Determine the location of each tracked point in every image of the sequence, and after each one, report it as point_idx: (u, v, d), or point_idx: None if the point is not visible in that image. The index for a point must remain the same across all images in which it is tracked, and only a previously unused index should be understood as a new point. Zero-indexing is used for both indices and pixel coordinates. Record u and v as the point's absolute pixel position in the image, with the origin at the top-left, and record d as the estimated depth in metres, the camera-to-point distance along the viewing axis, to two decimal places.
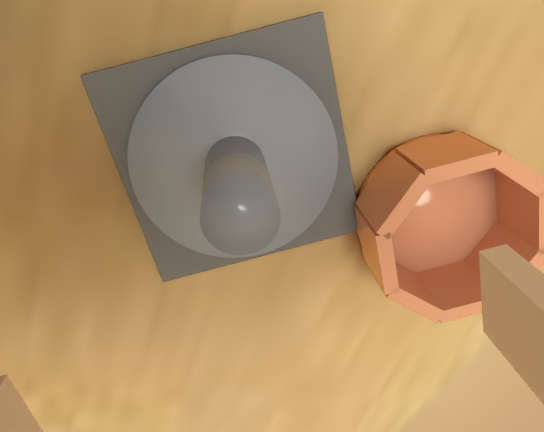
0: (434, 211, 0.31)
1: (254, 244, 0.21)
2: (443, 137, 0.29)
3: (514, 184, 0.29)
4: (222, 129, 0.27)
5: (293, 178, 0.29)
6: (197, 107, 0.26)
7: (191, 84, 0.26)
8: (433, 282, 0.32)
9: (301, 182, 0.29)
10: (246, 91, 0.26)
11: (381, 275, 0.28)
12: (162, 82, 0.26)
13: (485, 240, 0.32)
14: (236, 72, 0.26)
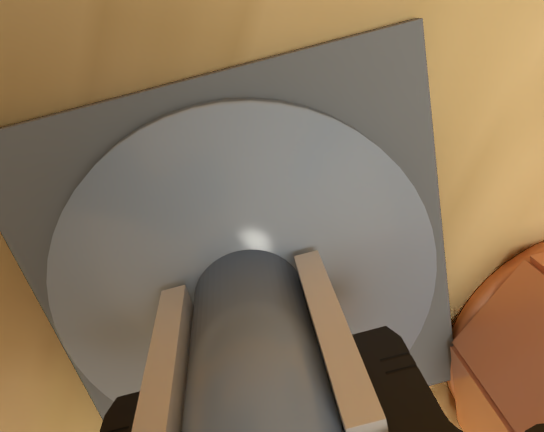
0: None
1: None
2: None
3: None
4: (226, 239, 0.14)
5: (354, 316, 0.16)
6: (178, 201, 0.14)
7: (165, 160, 0.13)
8: None
9: (367, 321, 0.16)
10: (273, 171, 0.14)
11: None
12: (108, 157, 0.13)
13: None
14: (254, 136, 0.13)
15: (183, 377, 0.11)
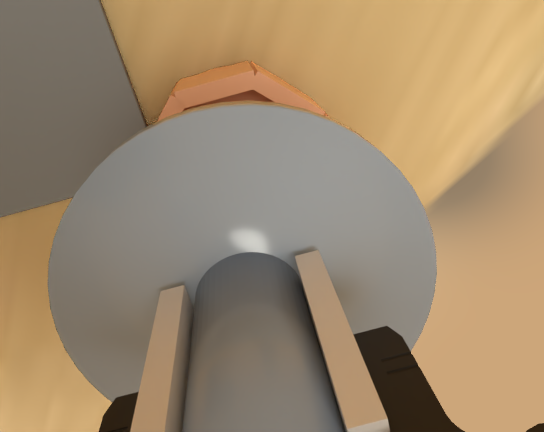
0: None
1: None
2: (229, 66, 0.27)
3: None
4: (226, 241, 0.14)
5: (354, 318, 0.16)
6: (179, 204, 0.14)
7: (166, 163, 0.13)
8: None
9: (367, 324, 0.16)
10: (273, 174, 0.14)
11: None
12: (109, 160, 0.13)
13: None
14: (254, 139, 0.13)
15: (182, 377, 0.11)
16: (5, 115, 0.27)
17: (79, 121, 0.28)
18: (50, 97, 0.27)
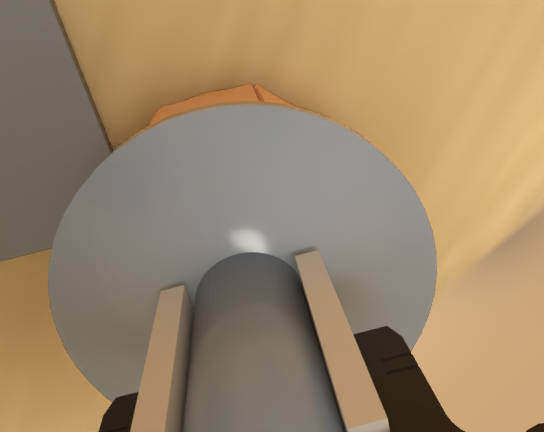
0: None
1: None
2: (226, 91, 0.20)
3: None
4: (226, 241, 0.14)
5: (354, 318, 0.16)
6: (179, 204, 0.14)
7: (166, 163, 0.13)
8: None
9: (367, 324, 0.16)
10: (273, 174, 0.14)
11: None
12: (109, 160, 0.13)
13: None
14: (255, 139, 0.13)
15: (182, 377, 0.11)
16: None
17: (28, 160, 0.21)
18: None
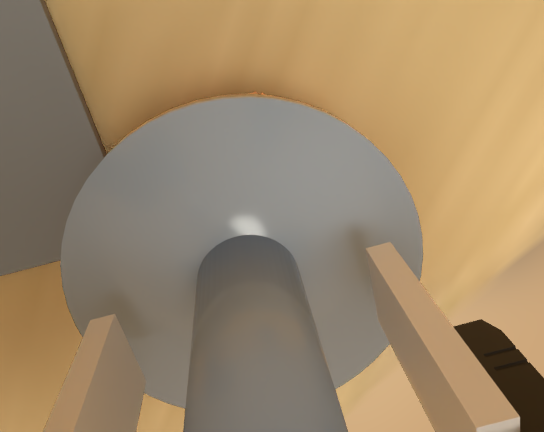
0: None
1: None
2: None
3: None
4: (226, 225, 0.15)
5: (346, 297, 0.17)
6: (182, 189, 0.15)
7: (171, 151, 0.14)
8: None
9: (358, 303, 0.17)
10: (270, 161, 0.15)
11: None
12: (118, 148, 0.14)
13: None
14: (252, 129, 0.14)
15: (95, 418, 0.11)
16: None
17: (19, 172, 0.20)
18: None
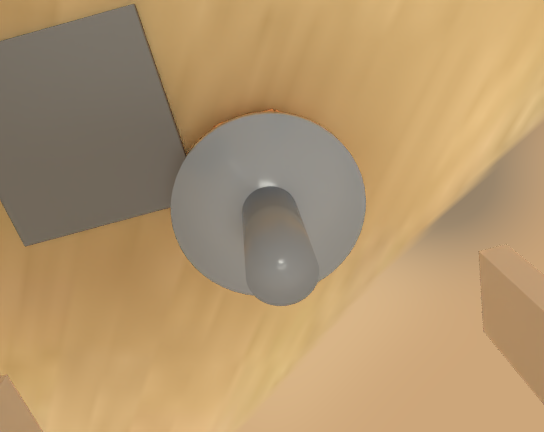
0: None
1: (294, 296, 0.23)
2: None
3: None
4: (258, 180, 0.29)
5: (323, 223, 0.31)
6: (235, 161, 0.28)
7: (230, 141, 0.28)
8: None
9: (331, 227, 0.31)
10: (281, 146, 0.28)
11: None
12: (204, 139, 0.28)
13: None
14: (272, 129, 0.28)
15: None
16: (74, 153, 0.33)
17: (133, 157, 0.34)
18: (111, 138, 0.33)
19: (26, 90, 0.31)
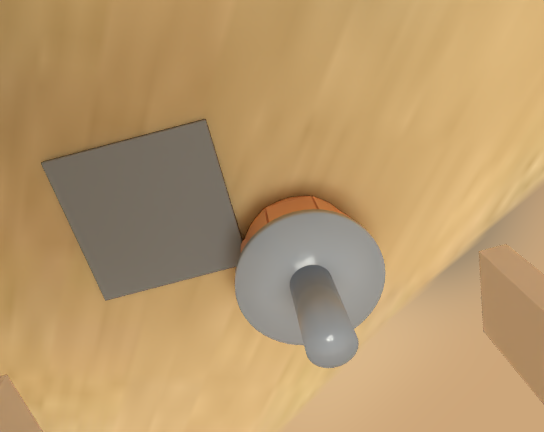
0: None
1: (339, 361, 0.32)
2: (298, 200, 0.41)
3: None
4: (303, 260, 0.38)
5: (352, 291, 0.39)
6: (287, 247, 0.37)
7: (284, 233, 0.36)
8: None
9: (357, 293, 0.39)
10: (322, 236, 0.37)
11: None
12: (264, 232, 0.36)
13: None
14: (316, 224, 0.36)
15: None
16: (150, 229, 0.42)
17: (197, 232, 0.42)
18: (180, 218, 0.41)
19: (116, 183, 0.40)
